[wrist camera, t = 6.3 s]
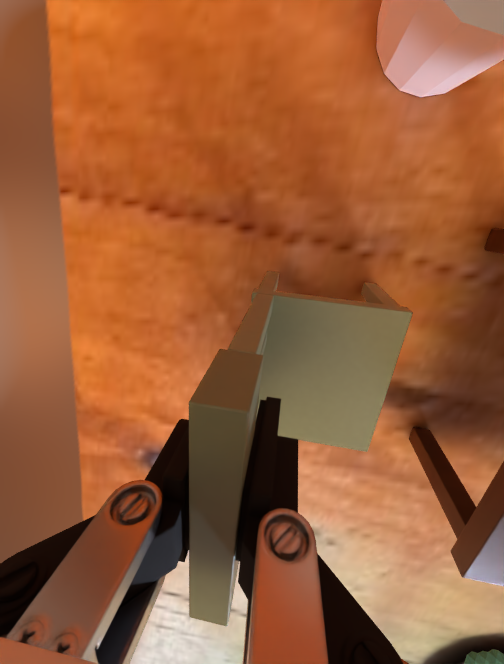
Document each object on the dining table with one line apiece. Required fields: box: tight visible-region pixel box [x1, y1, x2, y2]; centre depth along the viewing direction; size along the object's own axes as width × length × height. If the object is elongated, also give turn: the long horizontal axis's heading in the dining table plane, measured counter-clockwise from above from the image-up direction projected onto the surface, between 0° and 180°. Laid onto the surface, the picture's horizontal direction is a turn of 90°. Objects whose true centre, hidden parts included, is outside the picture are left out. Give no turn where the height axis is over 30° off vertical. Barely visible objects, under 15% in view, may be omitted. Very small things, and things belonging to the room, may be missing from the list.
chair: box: [189, 271, 413, 626], centre depth 13 cm, size 8×7×14 cm
